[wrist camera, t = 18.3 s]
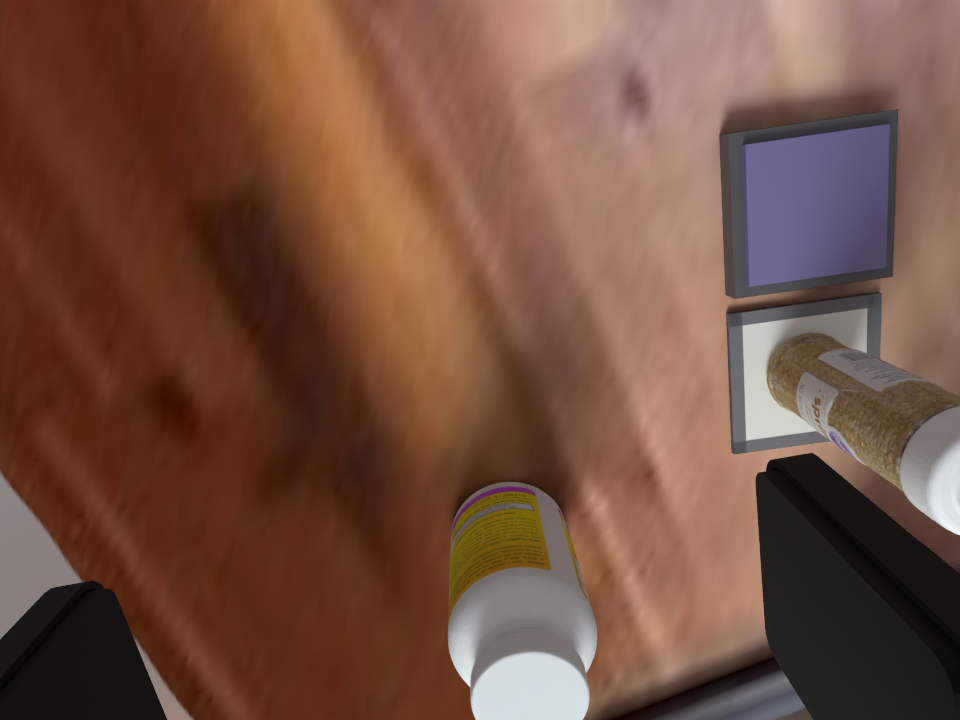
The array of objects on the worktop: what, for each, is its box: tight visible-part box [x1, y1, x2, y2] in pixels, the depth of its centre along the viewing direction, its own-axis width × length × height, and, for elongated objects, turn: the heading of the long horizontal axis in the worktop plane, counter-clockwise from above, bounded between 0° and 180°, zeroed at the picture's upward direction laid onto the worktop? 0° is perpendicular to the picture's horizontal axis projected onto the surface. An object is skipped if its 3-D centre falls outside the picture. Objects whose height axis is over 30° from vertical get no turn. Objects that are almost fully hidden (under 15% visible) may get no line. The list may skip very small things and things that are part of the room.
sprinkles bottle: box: [767, 333, 960, 535], centre depth 29 cm, size 5×5×14 cm
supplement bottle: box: [448, 482, 597, 720], centre depth 32 cm, size 7×7×13 cm
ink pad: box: [720, 109, 898, 299], centre depth 33 cm, size 8×8×2 cm
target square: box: [726, 292, 882, 454], centre depth 36 cm, size 8×8×1 cm
